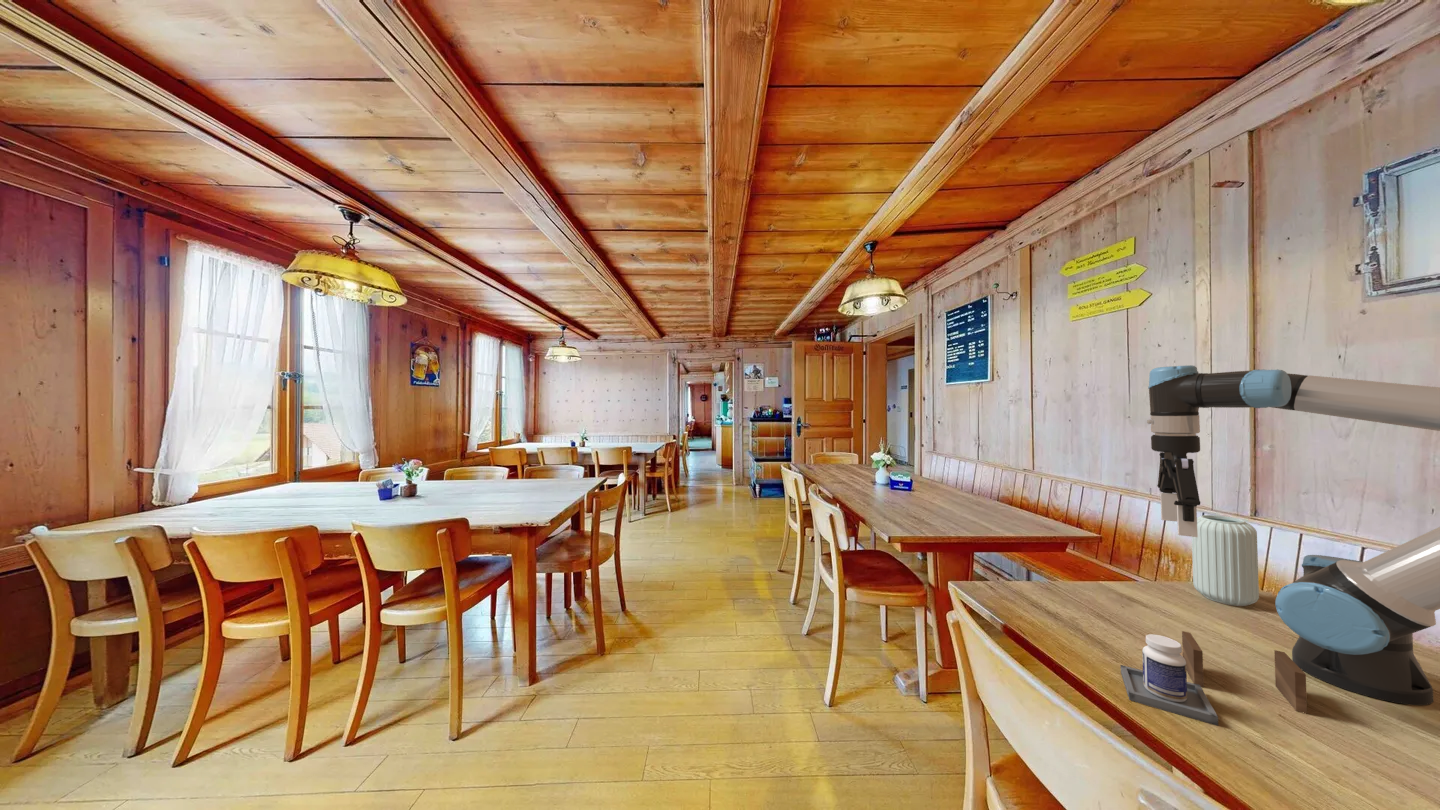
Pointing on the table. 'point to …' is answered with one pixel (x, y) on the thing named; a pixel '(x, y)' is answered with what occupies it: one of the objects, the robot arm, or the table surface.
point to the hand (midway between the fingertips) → (1178, 527)
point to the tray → (1192, 707)
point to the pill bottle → (1164, 668)
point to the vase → (1226, 560)
